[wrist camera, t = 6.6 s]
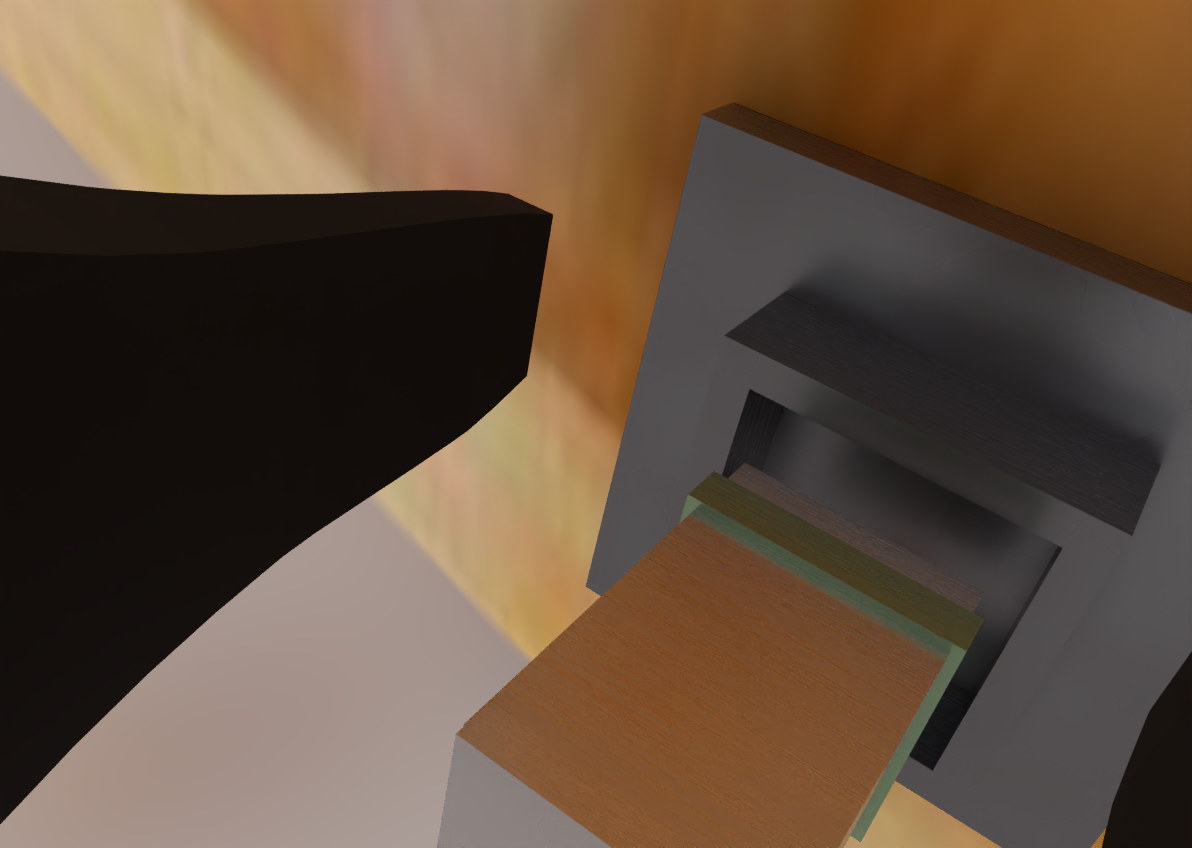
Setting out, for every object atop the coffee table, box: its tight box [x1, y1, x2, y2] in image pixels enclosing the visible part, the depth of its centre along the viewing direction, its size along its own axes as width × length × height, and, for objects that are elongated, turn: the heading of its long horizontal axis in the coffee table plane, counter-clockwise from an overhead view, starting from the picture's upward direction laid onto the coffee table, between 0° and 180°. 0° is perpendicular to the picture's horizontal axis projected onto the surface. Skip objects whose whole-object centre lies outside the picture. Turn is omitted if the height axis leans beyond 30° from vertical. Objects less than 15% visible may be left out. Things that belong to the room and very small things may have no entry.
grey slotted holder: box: [586, 103, 1192, 848], centre depth 16 cm, size 10×10×5 cm
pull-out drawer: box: [437, 463, 985, 848], centre depth 13 cm, size 4×5×6 cm
